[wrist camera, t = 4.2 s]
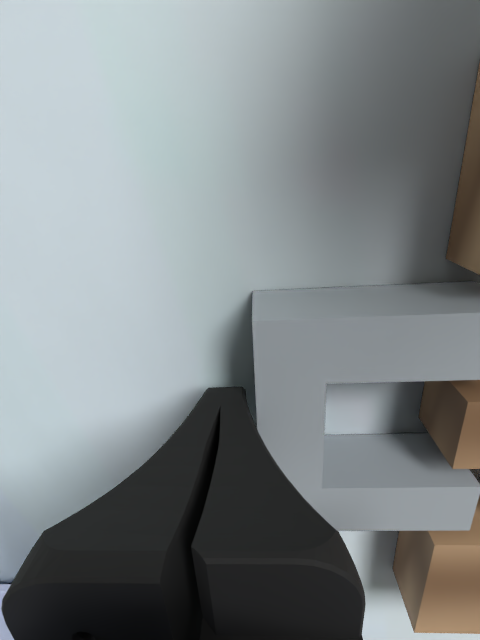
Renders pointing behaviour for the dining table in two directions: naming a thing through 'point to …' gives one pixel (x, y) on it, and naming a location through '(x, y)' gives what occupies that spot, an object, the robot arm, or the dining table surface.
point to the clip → (365, 367)
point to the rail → (450, 450)
